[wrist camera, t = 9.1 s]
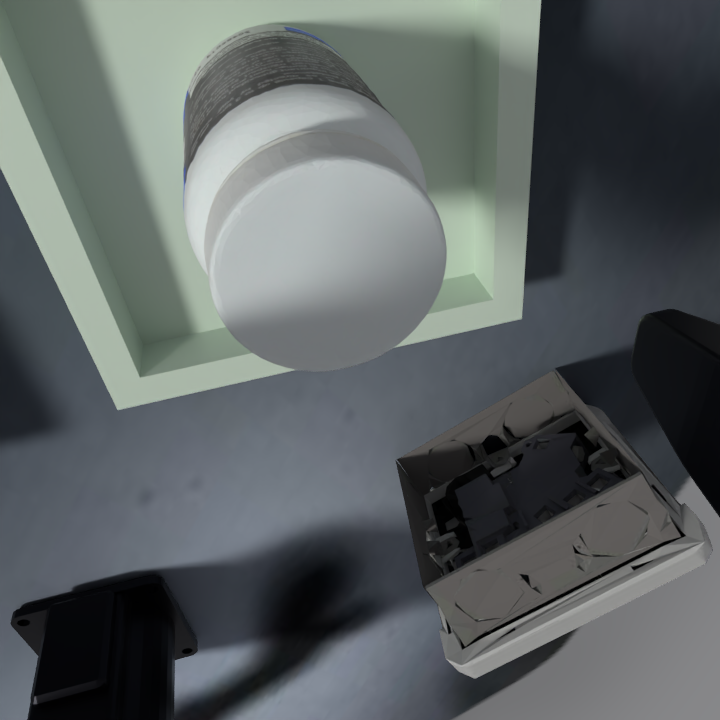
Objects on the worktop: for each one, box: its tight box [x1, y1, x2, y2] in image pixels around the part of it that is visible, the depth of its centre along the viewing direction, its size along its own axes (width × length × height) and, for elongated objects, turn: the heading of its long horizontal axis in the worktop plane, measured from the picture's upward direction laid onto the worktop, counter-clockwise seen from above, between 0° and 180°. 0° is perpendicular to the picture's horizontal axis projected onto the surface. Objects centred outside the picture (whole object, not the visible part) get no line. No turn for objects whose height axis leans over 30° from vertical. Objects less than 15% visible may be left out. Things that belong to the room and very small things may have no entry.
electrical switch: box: [396, 370, 713, 678], centre depth 23 cm, size 9×5×9 cm, turn 120°
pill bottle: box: [183, 24, 447, 372], centre depth 13 cm, size 5×5×8 cm
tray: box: [0, 0, 541, 410], centre depth 17 cm, size 13×13×2 cm
